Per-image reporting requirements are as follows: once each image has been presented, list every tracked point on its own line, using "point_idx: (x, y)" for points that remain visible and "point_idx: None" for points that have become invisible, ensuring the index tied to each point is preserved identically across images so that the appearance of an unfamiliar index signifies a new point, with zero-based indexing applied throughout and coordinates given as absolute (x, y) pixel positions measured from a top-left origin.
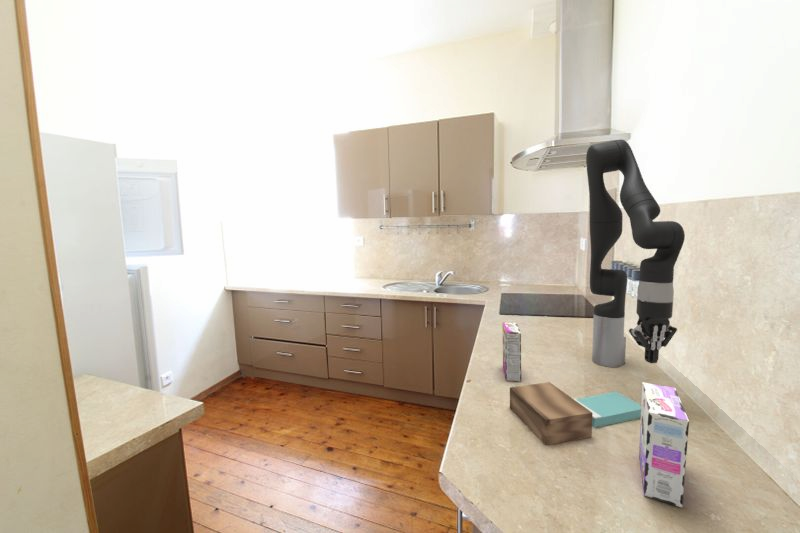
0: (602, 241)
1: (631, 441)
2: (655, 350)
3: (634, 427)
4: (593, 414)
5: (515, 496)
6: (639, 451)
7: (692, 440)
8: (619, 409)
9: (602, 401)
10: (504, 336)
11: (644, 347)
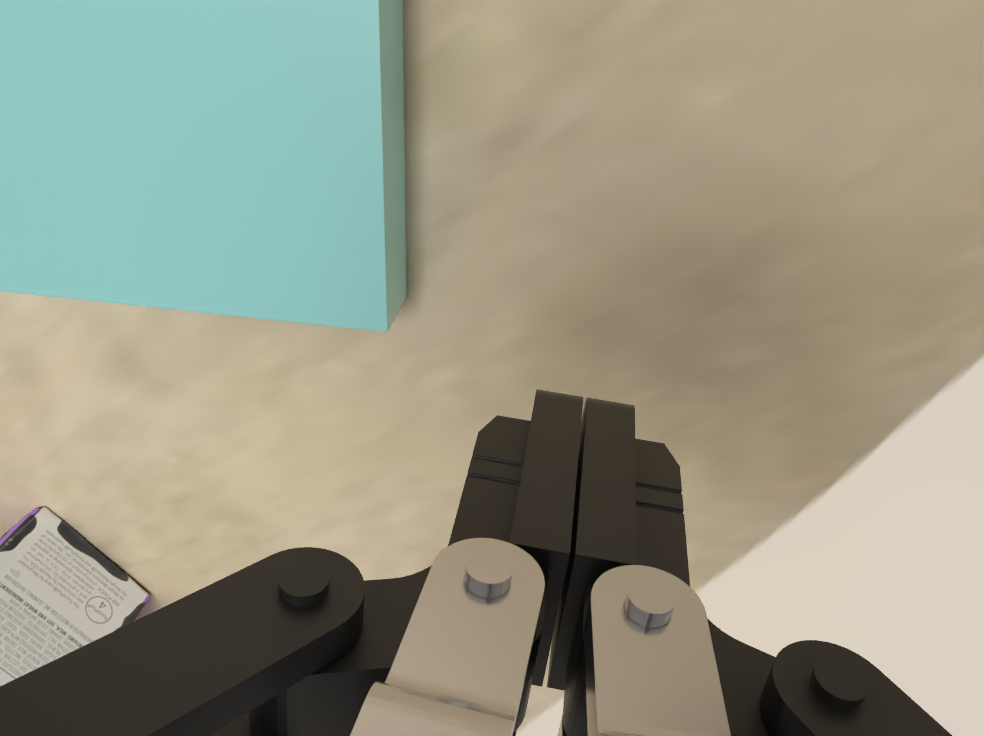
0: None
1: (72, 432)
2: (535, 684)
3: (201, 351)
4: None
5: None
6: (3, 538)
7: (431, 558)
8: (144, 259)
9: (87, 95)
10: None
11: (423, 571)
